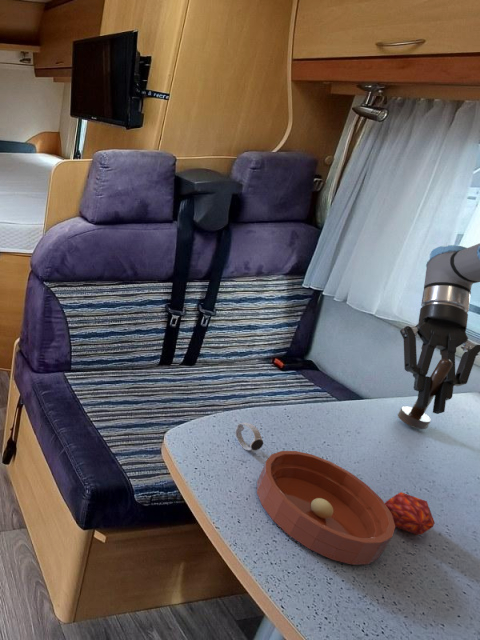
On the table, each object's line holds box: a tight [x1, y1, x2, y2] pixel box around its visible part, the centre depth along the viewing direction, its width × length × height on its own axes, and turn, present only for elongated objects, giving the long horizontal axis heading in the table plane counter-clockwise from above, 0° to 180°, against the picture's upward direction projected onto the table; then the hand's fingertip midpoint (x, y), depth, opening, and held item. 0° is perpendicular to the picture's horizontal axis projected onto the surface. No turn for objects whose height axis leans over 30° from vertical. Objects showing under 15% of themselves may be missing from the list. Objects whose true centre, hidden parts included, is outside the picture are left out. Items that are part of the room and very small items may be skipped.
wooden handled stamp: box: [397, 358, 453, 430], centre depth 100 cm, size 5×5×16 cm
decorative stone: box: [384, 491, 436, 536], centre depth 77 cm, size 6×7×8 cm
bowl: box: [256, 450, 396, 566], centre depth 78 cm, size 18×18×6 cm
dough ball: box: [311, 498, 333, 518], centre depth 78 cm, size 3×3×3 cm
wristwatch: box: [234, 422, 264, 451], centre depth 92 cm, size 3×5×5 cm, turn 11°
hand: (430, 409), depth 97 cm, fingers closed on wooden handled stamp, 2 cm apart
